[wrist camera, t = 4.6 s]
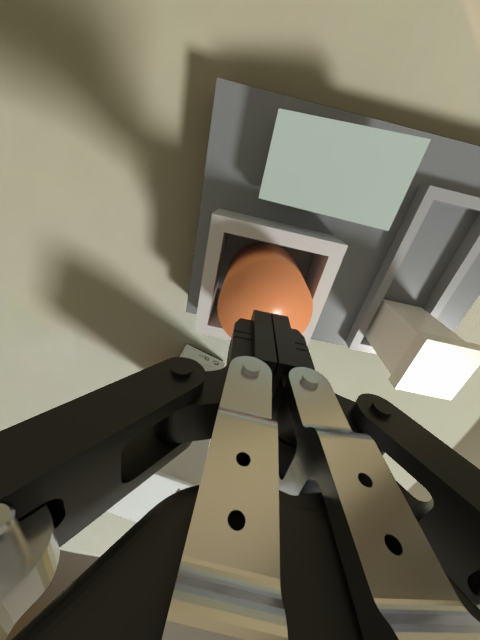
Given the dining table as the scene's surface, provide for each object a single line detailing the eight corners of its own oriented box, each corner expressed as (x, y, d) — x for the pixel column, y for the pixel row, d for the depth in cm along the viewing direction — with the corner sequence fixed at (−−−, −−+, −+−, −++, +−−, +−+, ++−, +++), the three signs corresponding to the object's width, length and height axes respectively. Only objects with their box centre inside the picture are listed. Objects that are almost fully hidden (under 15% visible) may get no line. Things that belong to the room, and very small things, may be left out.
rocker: (262, 198, 16) (258, 198, 15) (281, 114, 14) (278, 108, 13) (383, 228, 15) (388, 231, 14) (421, 143, 13) (431, 139, 12)
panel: (192, 299, 23) (175, 331, 18) (222, 91, 16) (207, 53, 11) (414, 347, 24) (455, 390, 19) (526, 170, 17) (634, 166, 12)
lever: (359, 335, 20) (394, 388, 15) (380, 295, 19) (427, 339, 13) (401, 344, 20) (450, 400, 15) (425, 305, 19) (489, 352, 14)
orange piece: (220, 303, 19) (210, 340, 15) (234, 234, 17) (227, 254, 13) (286, 318, 20) (295, 358, 15) (309, 252, 17) (327, 276, 13)
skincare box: (185, 341, 25) (132, 463, 14) (225, 361, 25) (204, 490, 15) (161, 384, 27) (101, 513, 17) (198, 400, 28) (164, 534, 18)
